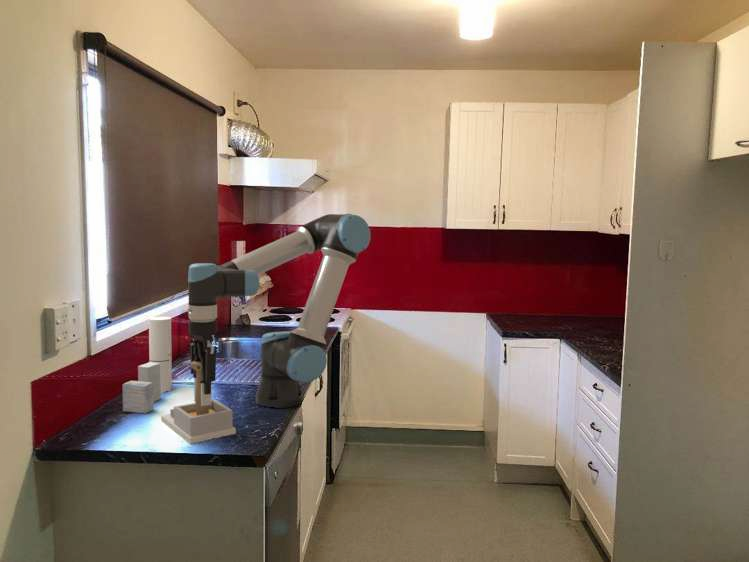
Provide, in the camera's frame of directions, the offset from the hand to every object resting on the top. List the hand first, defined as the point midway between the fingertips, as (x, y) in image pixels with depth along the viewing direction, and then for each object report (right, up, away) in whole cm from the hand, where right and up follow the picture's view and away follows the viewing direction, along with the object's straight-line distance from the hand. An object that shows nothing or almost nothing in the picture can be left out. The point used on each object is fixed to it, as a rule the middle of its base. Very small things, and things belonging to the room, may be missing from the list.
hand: (202, 402), depth 163 cm
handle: (0, -4, 0) cm, 4 cm away
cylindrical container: (-26, -4, +39) cm, 47 cm away
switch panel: (-3, -8, +4) cm, 9 cm away
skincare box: (-25, -5, +27) cm, 37 cm away
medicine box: (-25, -6, +17) cm, 31 cm away
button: (0, -6, +1) cm, 6 cm away
